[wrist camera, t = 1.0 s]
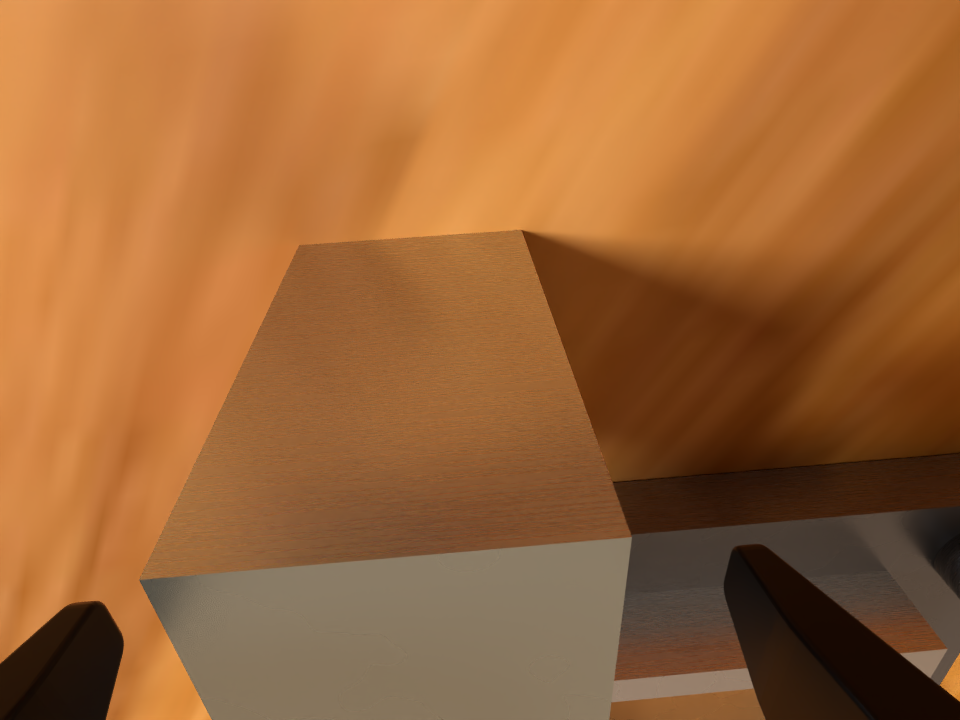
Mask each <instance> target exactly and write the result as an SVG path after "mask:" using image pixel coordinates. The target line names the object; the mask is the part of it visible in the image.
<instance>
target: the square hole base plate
mask: <svg viewBox="0 0 960 720" xmlns="http://www.w3.org/2000/svg"><path fill="white" fill-rule="evenodd" d="M613 486H614V489H615V492H616V494H617V497H618V500H619V503H620V506H621V508H622V511H623V514H624V517H625V519H626V522H627V525H628V528H629V531H630V533H631V536H632V540H631V548H630V557H629V565H628V573H627V581H626V589H625V597H624V605H623V613H622V621H621V629H620V637H619V645H618V653H617V661H616V669H615V677H614V685H613V693H612V702H611V710H610V718H609V720H765V717H764V715H763V712H762V710H761V707H760V705H759V702H758V699H757V696H756V694H755V691H754V688H753V685H752V681H751V678H750V675H749V672H748V669H747V666H746V662H745V659H744V656H743V653H742V650H741V647H740V644H739V640H738V637H737V634H736V631H735V628H734V625H733V621H732V618H731V615H730V612H729V609H728V606H727V602H726V599H725V595H724V578H725V574H726V570H727V566H728V562H729V558H730V554H731V551H732V549H733V548H734V547H735V546H738V545H749V544H761V545H764V546H766V547H768V548H769V549H770V550H772V551H773V552H774V553H775V554H777V555H778V556H779V557H780V558H781V559H783V560H784V561H785V562H786V563H788V564H789V565H790V566H791V567H793V568H794V569H795V570H796V571H798V572H799V573H800V574H801V575H803V576H804V577H805V578H806V579H808V580H809V581H810V582H811V583H813V584H814V585H815V586H816V587H818V588H819V589H820V590H821V591H823V592H824V593H825V594H826V595H828V596H829V597H830V598H831V599H832V600H834V601H835V602H836V603H837V604H839V605H840V606H841V607H842V608H844V609H845V610H846V611H847V612H849V613H850V614H851V615H852V616H854V617H855V618H856V619H857V620H859V621H860V622H861V623H862V624H864V625H865V626H866V627H867V628H869V629H870V630H871V631H872V632H874V633H875V634H876V635H877V636H879V637H880V638H881V639H882V640H884V641H885V642H886V643H887V644H888V645H890V646H891V647H892V648H893V649H895V650H896V651H897V652H898V653H900V654H901V655H902V656H903V657H905V658H906V659H907V660H908V661H910V662H911V663H912V664H913V665H915V666H916V667H917V668H918V669H920V670H921V671H922V672H923V673H925V674H926V675H927V676H928V677H930V678H931V679H932V680H933V681H935V682H936V683H937V684H938V685H940V684H941V682H942V680H943V679H944V677H945V676H946V674H947V672H948V671H949V669H950V668H951V666H952V664H953V663H954V661H955V660H956V658H957V656H958V655H959V653H960V454H950V455H938V456H926V457H914V458H902V459H890V460H879V461H867V462H855V463H843V464H831V465H819V466H807V467H795V468H783V469H772V470H760V471H748V472H736V473H724V474H712V475H700V476H688V477H676V478H664V479H653V480H641V481H629V482H617V483H613Z"/></svg>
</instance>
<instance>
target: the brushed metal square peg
mask: <svg viewBox="0 0 960 720" xmlns="http://www.w3.org/2000/svg"><path fill="white" fill-rule="evenodd" d="M631 540H632V536H631V533H630V531H629V528H628V525H627V522H626V519H625V517H624V514H623V511H622V508H621V506H620V503H619V500H618V497H617V494H616V492H615V489H614V486H613V483H612V481H611V478H610V475H609V472H608V469H607V467H606V464H605V461H604V458H603V455H602V453H601V450H600V447H599V444H598V442H597V439H596V436H595V433H594V430H593V428H592V425H591V422H590V419H589V416H588V414H587V411H586V408H585V405H584V403H583V400H582V397H581V394H580V391H579V389H578V386H577V383H576V380H575V378H574V375H573V372H572V369H571V366H570V364H569V361H568V358H567V355H566V352H565V350H564V347H563V344H562V341H561V339H560V336H559V333H558V330H557V327H556V325H555V322H554V319H553V316H552V314H551V311H550V308H549V305H548V302H547V300H546V297H545V294H544V291H543V288H542V286H541V283H540V280H539V277H538V275H537V272H536V269H535V266H534V263H533V261H532V258H531V255H530V252H529V249H528V247H527V244H526V241H525V238H524V236H523V233H522V230H515V231H500V232H486V233H471V234H457V235H442V236H428V237H413V238H398V239H384V240H369V241H355V242H340V243H326V244H311V245H299V247H298V249H297V251H296V253H295V255H294V257H293V259H292V261H291V263H290V266H289V268H288V270H287V272H286V274H285V276H284V278H283V280H282V282H281V284H280V286H279V289H278V291H277V293H276V295H275V297H274V299H273V301H272V303H271V305H270V307H269V310H268V312H267V314H266V316H265V318H264V320H263V322H262V324H261V326H260V328H259V330H258V333H257V335H256V337H255V339H254V341H253V343H252V345H251V347H250V349H249V351H248V353H247V356H246V358H245V360H244V362H243V364H242V366H241V368H240V370H239V372H238V374H237V376H236V379H235V381H234V383H233V385H232V387H231V389H230V391H229V393H228V395H227V397H226V399H225V402H224V404H223V406H222V408H221V410H220V412H219V414H218V416H217V418H216V420H215V422H214V425H213V427H212V429H211V431H210V433H209V435H208V437H207V439H206V441H205V443H204V445H203V448H202V450H201V452H200V454H199V456H198V458H197V460H196V462H195V464H194V466H193V468H192V471H191V473H190V475H189V477H188V479H187V481H186V483H185V485H184V487H183V489H182V491H181V494H180V496H179V498H178V500H177V502H176V504H175V506H174V508H173V510H172V512H171V514H170V517H169V519H168V521H167V523H166V525H165V527H164V529H163V531H162V533H161V535H160V537H159V540H158V542H157V544H156V546H155V548H154V550H153V552H152V554H151V556H150V558H149V560H148V563H147V565H146V567H145V569H144V571H143V573H142V575H141V577H140V579H139V580H140V582H141V584H142V586H143V588H144V590H145V592H146V594H147V596H148V598H149V600H150V602H151V604H152V605H153V607H154V609H155V611H156V613H157V615H158V617H159V619H160V621H161V623H162V625H163V627H164V629H165V630H166V632H167V634H168V636H169V638H170V640H171V642H172V644H173V646H174V648H175V650H176V652H177V654H178V655H179V657H180V659H181V661H182V663H183V665H184V667H185V669H186V671H187V673H188V675H189V677H190V679H191V681H192V682H193V684H194V686H195V688H196V690H197V692H198V694H199V696H200V698H201V700H202V702H203V704H204V706H205V707H206V709H207V711H208V713H209V715H210V717H211V719H212V720H609V718H610V710H611V702H612V693H613V685H614V677H615V669H616V661H617V653H618V645H619V637H620V629H621V621H622V613H623V605H624V597H625V589H626V581H627V573H628V565H629V557H630V548H631Z"/></svg>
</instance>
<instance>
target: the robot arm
mask: <svg viewBox="0 0 960 720" xmlns="http://www.w3.org/2000/svg"><path fill="white" fill-rule="evenodd" d="M724 595H725V599H726V602H727V606H728V609H729V612H730V615H731V618H732V621H733V625H734V628H735V631H736V634H737V637H738V640H739V644H740V647H741V650H742V653H743V656H744V659H745V662H746V666H747V669H748V672H749V675H750V678H751V681H752V685H753V688H754V691H755V694H756V696H757V699H758V702H759V705H760V707H761V710H762V712H763V715H764V717H765V720H960V702H959V701H958V700H957V699H956V698H954V697H953V696H952V695H951V694H949V693H948V692H947V691H946V690H944V689H943V688H942V687H941V686H940V685H938V684H937V683H936V682H935V681H933V680H932V679H931V678H930V677H928V676H927V675H926V674H925V673H923V672H922V671H921V670H920V669H918V668H917V667H916V666H915V665H913V664H912V663H911V662H910V661H908V660H907V659H906V658H905V657H903V656H902V655H901V654H900V653H898V652H897V651H896V650H895V649H893V648H892V647H891V646H890V645H888V644H887V643H886V642H885V641H884V640H882V639H881V638H880V637H879V636H877V635H876V634H875V633H874V632H872V631H871V630H870V629H869V628H867V627H866V626H865V625H864V624H862V623H861V622H860V621H859V620H857V619H856V618H855V617H854V616H852V615H851V614H850V613H849V612H847V611H846V610H845V609H844V608H842V607H841V606H840V605H839V604H837V603H836V602H835V601H834V600H832V599H831V598H830V597H829V596H828V595H826V594H825V593H824V592H823V591H821V590H820V589H819V588H818V587H816V586H815V585H814V584H813V583H811V582H810V581H809V580H808V579H806V578H805V577H804V576H803V575H801V574H800V573H799V572H798V571H796V570H795V569H794V568H793V567H791V566H790V565H789V564H788V563H786V562H785V561H784V560H783V559H781V558H780V557H779V556H778V555H777V554H775V553H774V552H773V551H772V550H770V549H769V548H768V547H766V546H764V545H761V544H749V545H738V546H735V547H734V548H733V549H732V551H731V554H730V558H729V562H728V566H727V570H726V574H725V578H724ZM123 648H124V640H123V636H122V633H121V631H120V630H119V628H118V626H117V625H116V623H115V621H114V619H113V618H112V616H111V614H110V613H109V611H108V609H107V607H106V606H105V605H104V604H103V603H102V602H100V601H89V602H78V603H72V604H69V605H67V606H66V607H64V608H63V609H62V610H60V611H59V612H58V613H57V614H56V615H55V616H54V617H52V618H51V619H50V620H49V621H48V622H47V623H46V624H45V625H43V626H42V627H41V628H40V629H39V630H38V631H37V632H35V633H34V634H33V635H32V636H31V637H30V638H29V639H28V640H26V641H25V642H24V643H23V644H22V645H21V646H20V647H19V648H17V649H16V650H15V651H14V652H13V653H12V654H11V655H9V656H8V657H7V658H6V659H5V660H4V661H3V662H2V663H0V720H106V717H107V713H108V709H109V705H110V701H111V697H112V693H113V690H114V686H115V682H116V678H117V674H118V670H119V666H120V662H121V658H122V654H123Z"/></svg>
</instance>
